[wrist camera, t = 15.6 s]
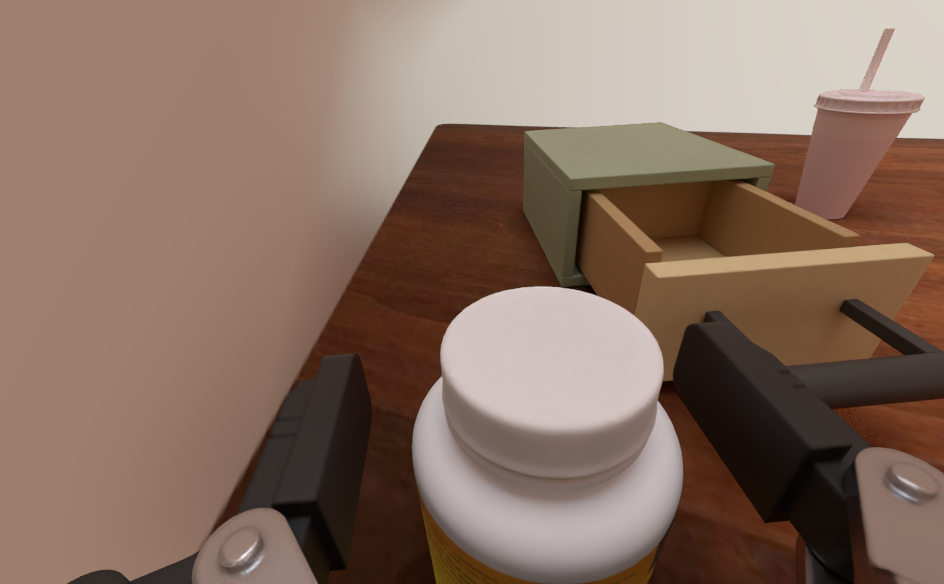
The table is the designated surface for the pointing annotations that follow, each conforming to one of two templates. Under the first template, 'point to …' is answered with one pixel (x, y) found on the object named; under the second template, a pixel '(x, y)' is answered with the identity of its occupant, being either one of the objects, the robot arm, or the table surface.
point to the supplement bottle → (546, 444)
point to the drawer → (761, 284)
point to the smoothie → (851, 140)
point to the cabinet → (614, 175)
